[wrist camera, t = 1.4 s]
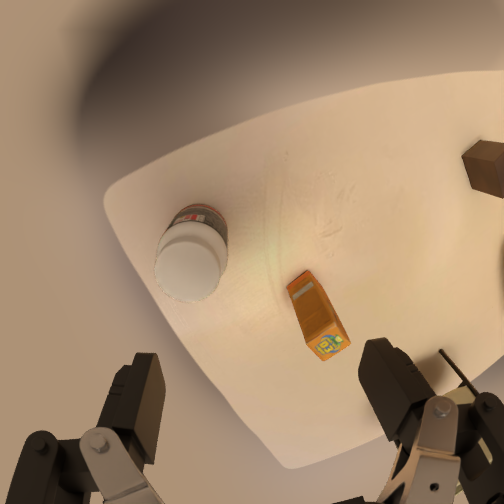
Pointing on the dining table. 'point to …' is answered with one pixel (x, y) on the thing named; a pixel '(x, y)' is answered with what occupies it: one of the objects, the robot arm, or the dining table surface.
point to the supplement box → (317, 317)
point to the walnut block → (486, 167)
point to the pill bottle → (192, 254)
